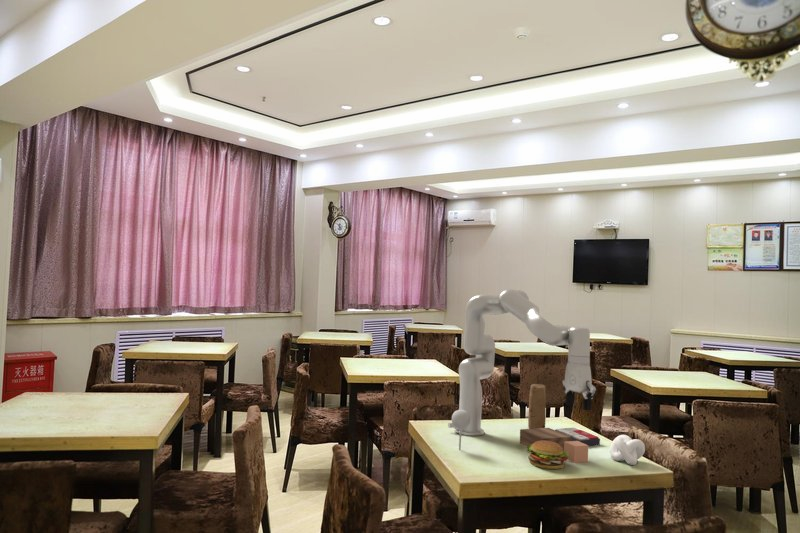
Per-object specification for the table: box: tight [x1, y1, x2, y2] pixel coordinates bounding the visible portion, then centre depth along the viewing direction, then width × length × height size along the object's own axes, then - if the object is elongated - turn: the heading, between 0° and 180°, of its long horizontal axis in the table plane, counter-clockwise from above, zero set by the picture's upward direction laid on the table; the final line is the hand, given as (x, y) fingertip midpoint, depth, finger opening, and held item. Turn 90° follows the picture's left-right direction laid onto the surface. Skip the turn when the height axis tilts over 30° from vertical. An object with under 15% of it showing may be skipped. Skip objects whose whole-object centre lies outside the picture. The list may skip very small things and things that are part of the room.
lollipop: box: [451, 409, 470, 451], centre depth 196 cm, size 7×7×15 cm
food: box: [527, 440, 569, 470], centre depth 183 cm, size 14×14×8 cm
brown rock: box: [527, 383, 547, 429], centre depth 234 cm, size 11×8×20 cm
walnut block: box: [519, 427, 572, 451], centre depth 205 cm, size 14×14×6 cm
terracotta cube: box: [564, 441, 589, 464], centre depth 190 cm, size 6×6×6 cm
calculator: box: [555, 427, 601, 447], centre depth 217 cm, size 11×4×15 cm
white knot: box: [609, 434, 646, 466], centre depth 192 cm, size 11×12×9 cm
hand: (578, 407), depth 191 cm, fingers open, 9 cm apart
